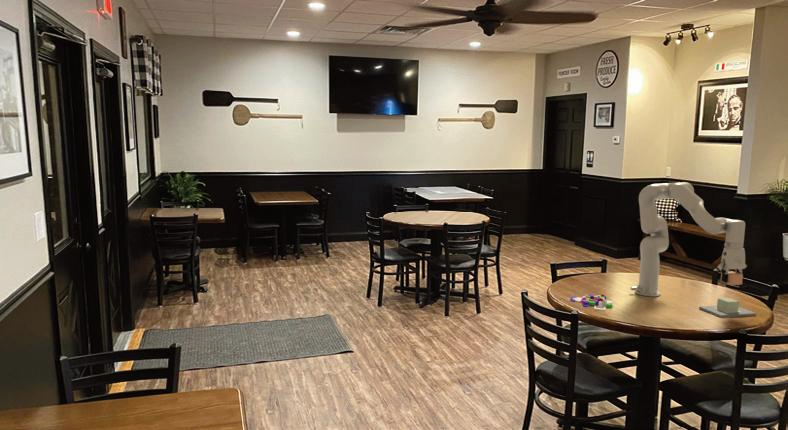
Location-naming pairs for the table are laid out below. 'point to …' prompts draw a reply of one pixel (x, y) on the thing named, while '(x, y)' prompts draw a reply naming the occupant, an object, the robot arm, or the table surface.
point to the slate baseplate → (722, 314)
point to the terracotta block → (734, 278)
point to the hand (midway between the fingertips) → (730, 281)
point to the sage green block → (727, 304)
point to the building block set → (594, 301)
